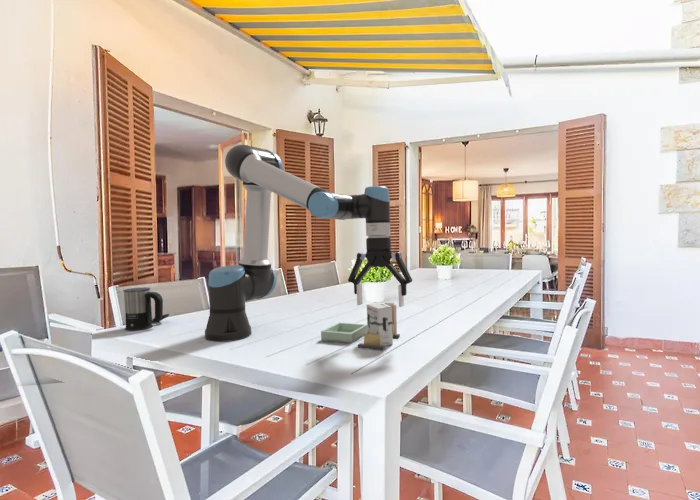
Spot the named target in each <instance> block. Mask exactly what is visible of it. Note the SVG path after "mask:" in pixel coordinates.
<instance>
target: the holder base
mask: <svg viewBox="0 0 700 500" xmlns="http://www.w3.org/2000/svg"><path fill="white" fill-rule="evenodd" d="M400 337H401V334H400V333H397V334H394V338H393V339H400ZM357 348H358V349H365V350H374V351H385V350H386V345H385V346H382V345H370V344H364V343H362V342H361V343H360V342H359V344H357Z"/></svg>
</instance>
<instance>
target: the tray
mask: <svg viewBox="0 0 700 500" xmlns="http://www.w3.org/2000/svg"><path fill="white" fill-rule="evenodd" d="M364 333H367V324H366V323H365V324H363V323H351V322H338V323H335V324H332V325H331V326H329V327H326V328H325V329H323V330H320V339H321V341H323V342H332V343H344V344H353V343H355V342H356V341H358V340H359V339H362V338H364Z"/></svg>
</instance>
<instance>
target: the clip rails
mask: <svg viewBox="0 0 700 500" xmlns="http://www.w3.org/2000/svg"><path fill="white" fill-rule="evenodd" d="M392 334H393V339H395V338H394V325H392ZM363 341H364V342H363V344H370V345H381V336H380V334H371V333H364V336H363Z"/></svg>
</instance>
